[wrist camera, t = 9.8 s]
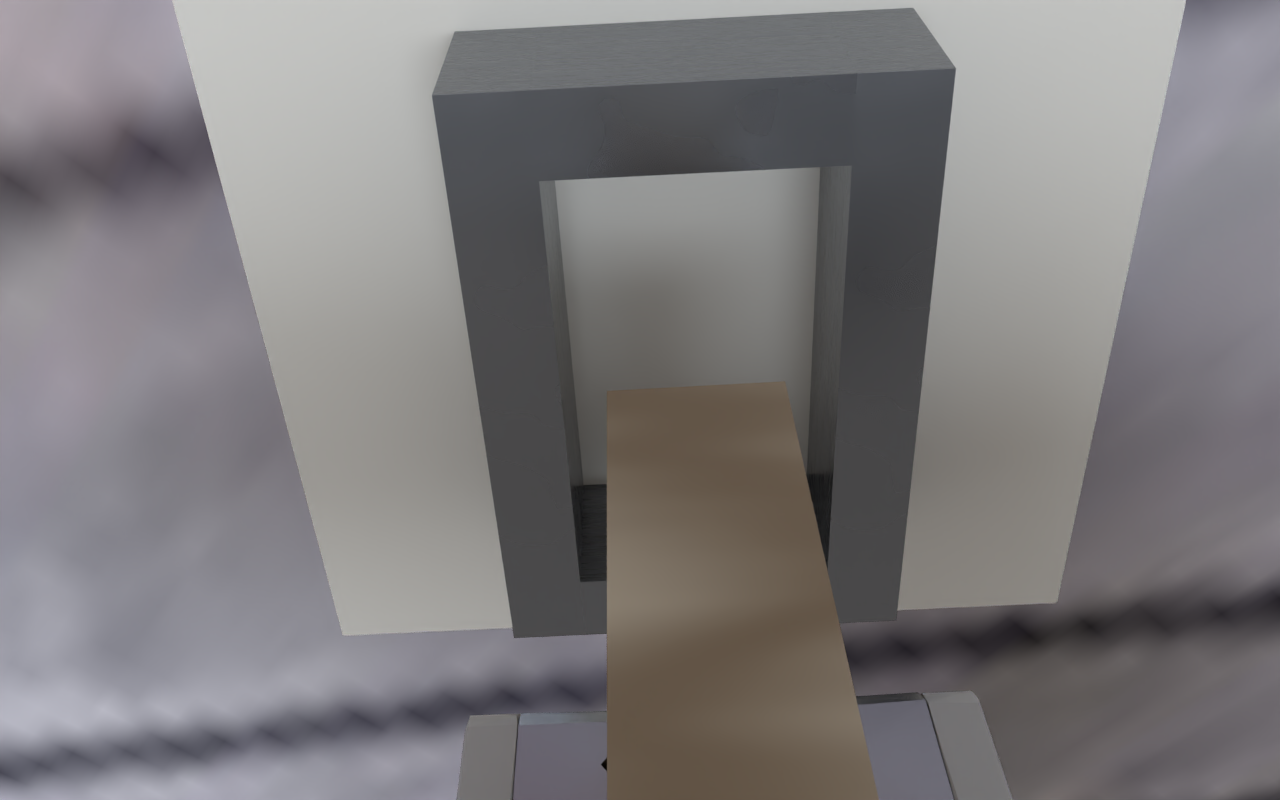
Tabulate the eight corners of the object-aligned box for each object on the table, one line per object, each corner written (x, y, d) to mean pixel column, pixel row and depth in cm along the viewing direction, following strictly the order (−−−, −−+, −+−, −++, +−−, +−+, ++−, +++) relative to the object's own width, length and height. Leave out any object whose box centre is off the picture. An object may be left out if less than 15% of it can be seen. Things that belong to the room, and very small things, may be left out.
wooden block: (784, 381, 13) (923, 999, 7) (777, 660, 16) (876, 1280, 10) (606, 391, 13) (606, 1015, 7) (628, 667, 16) (641, 1291, 10)
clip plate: (1189, -204, 16) (1227, -191, 15) (1038, 561, 24) (1056, 603, 23) (166, -149, 16) (136, -131, 15) (353, 592, 24) (343, 635, 23)
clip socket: (913, 7, 16) (956, 67, 14) (869, 522, 22) (896, 620, 20) (454, 31, 16) (431, 95, 14) (523, 538, 22) (514, 637, 20)
